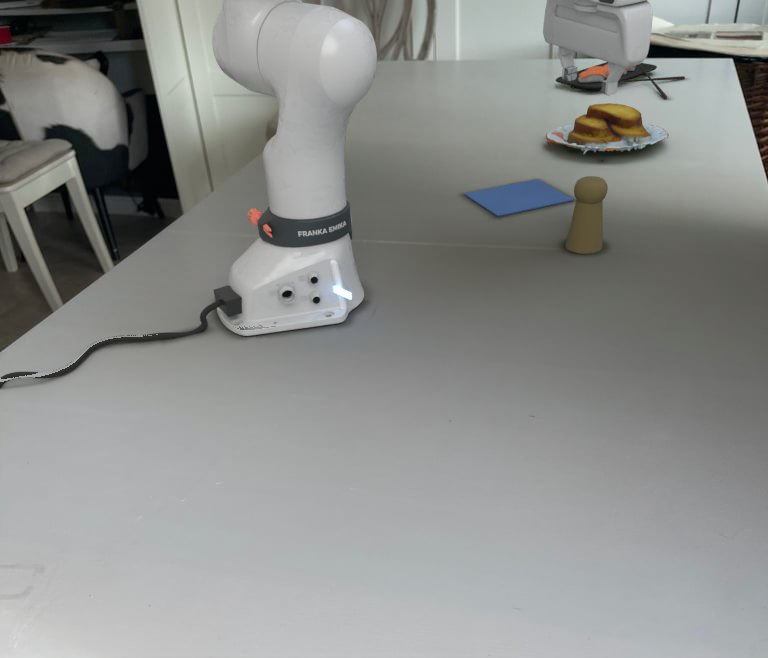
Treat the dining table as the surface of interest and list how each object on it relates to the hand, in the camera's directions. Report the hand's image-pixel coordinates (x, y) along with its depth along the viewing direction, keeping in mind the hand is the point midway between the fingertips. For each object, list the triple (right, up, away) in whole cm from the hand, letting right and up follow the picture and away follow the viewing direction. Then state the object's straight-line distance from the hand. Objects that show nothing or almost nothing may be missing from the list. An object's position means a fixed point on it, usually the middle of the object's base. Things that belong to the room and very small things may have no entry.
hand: (588, 86), depth 122 cm
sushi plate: (+34, +47, +89) cm, 106 cm away
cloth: (-6, -5, +30) cm, 31 cm away
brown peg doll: (+2, -21, +12) cm, 24 cm away
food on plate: (+17, +14, +52) cm, 56 cm away
